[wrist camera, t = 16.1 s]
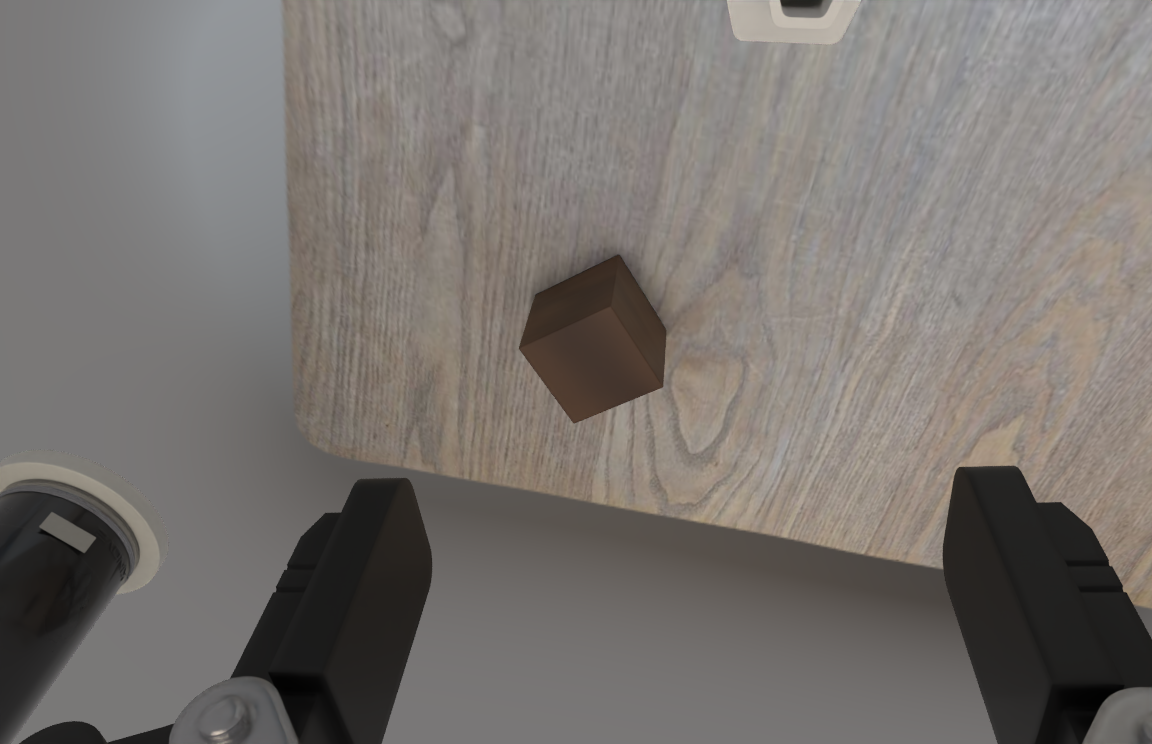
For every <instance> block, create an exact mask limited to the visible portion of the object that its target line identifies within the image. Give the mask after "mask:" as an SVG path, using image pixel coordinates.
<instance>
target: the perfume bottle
mask: <svg viewBox="0 0 1152 744" xmlns="http://www.w3.org/2000/svg"><path fill="white" fill-rule="evenodd" d="M860 2H861V0H727V5H728V10H729V15H730V20H731V25H732V30H733V33H734V36H735V37H736V38H737V39H738V40H742V41H756V42H779V43H802V44H825V45H831V44H836V43H837V42H839V41H840V40H841V39H842V37H843V36H844V34H845V32H846V30H847V28H848V26H849V24H850V22H851V20H852V18H853V16H854V14H855V12H856V10H857V8H858V6H859V4H860Z"/></svg>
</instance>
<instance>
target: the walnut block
mask: <svg viewBox="0 0 1152 744" xmlns="http://www.w3.org/2000/svg"><path fill="white" fill-rule="evenodd" d="M665 348H666V329H665V328H664V326H663V324H662V323H661V321H660V319H659V318H658V316H657V315H656V313H655V311H654V310H653V308H652V307H651V305H650V303H649V302H648V300H647V299H646V297H645V295H644V294H643V292H642V291H641V289H640V287H639V286H638V284H637V283H636V281H635V279H634V278H633V276H632V275H631V273H630V271H629V270H628V268H627V267H626V265H625V263H624V262H623V260H622V258H621V257H620V256H619V255H617V256H615V257H613V258H611V259H609V260H607V261H605V262H603V263H601V264H599V265H597V266H595V267H592V268H590V269H588V270H586V271H584V272H582V273H580V274H578V275H576V276H574V277H572V278H570V279H568V280H566V281H564V282H561V283H559V284H557V285H555V286H553V287H551V288H549V289H547V290H545V291H543V292H541V293H539V294H537V295H535V297H534V300H533V304H532V307H531V310H530V313H529V317H528V320H527V323H526V326H525V330H524V333H523V336H522V339H521V343H520V346H519V349H520V351H521V352H522V353H523V355H524V356H525V358H526V359H527V360H528V362H529V363H530V364H531V366H532V367H533V369H534V370H535V371H536V373H537V374H538V375H539V377H540V378H541V379H542V381H543V382H544V384H545V385H546V386H547V388H548V389H549V390H550V392H551V393H552V395H553V396H554V397H555V399H556V400H557V401H558V403H559V404H560V405H561V407H562V408H563V410H564V411H565V412H566V414H567V415H568V416H569V418H570V419H571V421H572V422H573V423H576V422H579V421H581V420H584V419H586V418H589V417H591V416H594V415H596V414H598V413H601V412H603V411H606V410H608V409H611V408H613V407H616V406H618V405H620V404H623V403H625V402H628V401H630V400H633V399H635V398H638V397H640V396H643V395H645V394H647V393H650V392H652V391H655V390H657V389H660V388H662V387H663V382H664V365H665Z"/></svg>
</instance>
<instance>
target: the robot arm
mask: <svg viewBox="0 0 1152 744" xmlns="http://www.w3.org/2000/svg"><path fill="white" fill-rule="evenodd" d="M139 559H140V549H139V545H138V542H137V539H136V537H135V535H134V533H133V531H132V530H131V528H130V527H129V525H128V524H127V523H126V522H125V520H124V519H123V518H122V517H121V516H120V515H119V514H118V513H117V512H116V511H115V510H113V509H112V508H111V507H110V506H108V505H107V504H106V503H104V502H103V501H101V500H100V499H98V498H97V497H95V496H93V495H91V494H90V493H88V492H86V491H83V490H81V489H79V488H77V487H74V486H71V485H68V484H65V483H61V482H57V481H52V480H45V479H27V480H21V481H17V482H15V483H12V484H10V485H8V486H7V487H6V488H4V489H3V490H2V491H1V492H0V744H11V743H12V741H13V740H14V738H15V737H16V736H17V734H18V733H19V731H20V730H21V728H22V727H23V725H24V724H25V723H26V721H27V720H28V719H29V717H30V716H31V714H32V713H33V711H34V710H35V709H36V707H37V706H38V704H39V703H40V701H41V700H42V699H43V697H44V696H45V694H46V693H47V691H48V690H49V688H50V687H51V686H52V684H53V683H54V681H55V680H56V679H57V677H58V676H59V674H60V673H61V671H62V670H63V668H64V667H65V665H66V664H67V663H68V661H69V660H70V658H71V657H72V656H73V654H74V653H75V651H76V650H77V649H78V647H79V645H80V644H81V643H82V641H83V640H84V638H85V637H86V636H87V634H88V633H89V631H90V630H91V629H92V627H93V626H94V624H95V623H96V621H97V620H98V619H99V617H100V616H101V614H102V613H103V612H104V610H105V609H106V607H107V606H108V604H109V603H110V601H111V600H112V599H113V597H114V596H115V594H116V593H117V591H118V590H119V589H120V587H121V586H122V585H124V584H125V582H126V581H127V580H128V579H129V577H130V576H131V574H132V573H133V571H134V570H135V569H136V567H137V565H138V563H139ZM287 566H288V568H287V570H284V572H283V574H282V576H281V578H280V580H279V582H278V584H277V586H276V589H277V590H276V592H274V593H273V594H272V596H271V598H270V600H269V602H268V604H267V606H266V608H265V610H264V612H263V614H262V616H261V618H260V620H259V622H258V624H257V627H256V628H255V630H254V632H253V634H252V636H251V638H250V640H249V642H248V644H247V646H246V648H245V650H244V652H243V654H242V656H241V658H240V660H239V662H238V664H237V666H236V669H235V670H234V672H233V674H232V676H231V678H230V679H228V680H225V681H222V682H220V683H218V684H215V685H213V686H212V687H210V688H208V689H206V690H205V691H203V692H202V693H201V694H199V695H198V696H197V697H195V698H194V699H193V700H192V701H191V702H190V703H189V704H188V705H187V706H186V707H185V708H184V710H183V711H182V712H181V714H180V715H179V716H178V718H177V719H176V721H175V723H174V724H171V725H168V726H165V727H162V728H158V729H155V730H151V731H148V732H144V733H140V734H137V735H133V736H129V737H126V738H123V739H119V740H115V741H112V742H108V743H107V742H106V740H105V739H104V738H103V736H102V735H101V733H100V732H99V731H98V730H97V729H96V728H95V727H94V726H92V725H90V724H88V723H84V722H77V721H76V722H75V721H72V722H64V723H60V724H56V725H52V726H50V727H47V728H45V729H43V730H41V731H39V732H37V733H35V734H33V735H31V736H30V737H28V738H26V739H25V740H23V741H22V742H21V743H20V744H381V743H382V740H383V737H384V734H385V731H386V727H387V724H388V721H389V717H390V714H391V711H392V708H393V705H394V702H395V698H396V695H397V692H398V689H399V685H400V682H401V679H402V676H403V672H404V669H405V666H406V663H407V659H408V656H409V653H410V650H411V647H412V643H413V640H414V637H415V634H416V630H417V627H418V624H419V621H420V617H421V614H422V611H423V608H424V605H425V601H426V598H427V595H428V592H429V588H430V583H431V577H432V555H431V549H430V545H429V542H428V538H427V534H426V531H425V528H424V524H423V520H422V517H421V514H420V510H419V507H418V503H417V500H416V496H415V493H414V489H413V486H412V484H411V482H410V481H409V480H408V479H407V478H382V479H360V480H358V481H357V482H356V483H355V484H354V486H353V488H352V490H351V492H350V495H349V497H348V499H347V501H346V503H345V505H344V508H343V510H342V512H341V513H325V514H324V515H323V516H322V517H321V518H320V519H319V520H318V521H317V522H316V523H315V524H314V525H313V526H312V527H311V528H310V529H309V530H308V531H307V532H306V533H305V534H304V535H303V536H302V537H301V538H300V540H299V542H298V544H297V546H296V548H295V550H294V552H293V554H292V556H291V558H290V560H289V562H288V564H287ZM943 568H944V576H945V581H946V586H947V589H948V592H949V595H950V599H951V602H952V604H953V608H954V611H955V614H956V617H957V620H958V623H959V626H960V629H961V632H962V635H963V638H964V641H965V645H966V648H967V650H968V654H969V657H970V660H971V663H972V666H973V669H974V672H975V675H976V678H977V681H978V684H979V688H980V691H981V694H982V697H983V700H984V703H985V706H986V709H987V712H988V715H989V718H990V721H991V724H992V727H993V730H994V734H995V736H996V740H997V743H998V744H1152V639H1151V637H1150V635H1149V633H1148V632H1147V630H1146V628H1145V626H1144V624H1143V622H1142V620H1141V619H1140V617H1139V615H1138V613H1137V611H1136V609H1135V608H1134V606H1133V604H1132V602H1131V600H1130V598H1129V596H1128V595H1127V593H1126V592H1123V589H1122V587H1123V585H1122V584H1121V582H1120V580H1119V578H1118V576H1117V574H1116V573H1115V571H1114V569H1113V567H1112V566H1109V560H1108V558H1107V556H1106V554H1105V552H1104V550H1103V549H1102V547H1101V545H1100V543H1099V541H1098V539H1097V538H1096V536H1095V534H1094V532H1093V530H1092V529H1091V528H1090V527H1089V526H1088V525H1087V524H1085V523H1084V522H1083V521H1082V520H1081V519H1080V518H1078V517H1077V516H1076V515H1075V514H1074V513H1073V512H1072V511H1070V510H1069V509H1068V508H1067V507H1066V506H1065V505H1063V504H1062V503H1061V502H1049V503H1036V501H1035V499H1034V497H1033V495H1032V492H1031V490H1030V488H1029V486H1028V484H1027V482H1026V480H1025V478H1024V476H1023V474H1022V472H1021V471H1020V469H1019V468H1018V467H1016V466H983V467H959V468H958V469H957V470H956V473H955V476H954V481H953V487H952V493H951V499H950V505H949V512H948V518H947V524H946V530H945V536H944V543H943Z"/></svg>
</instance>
